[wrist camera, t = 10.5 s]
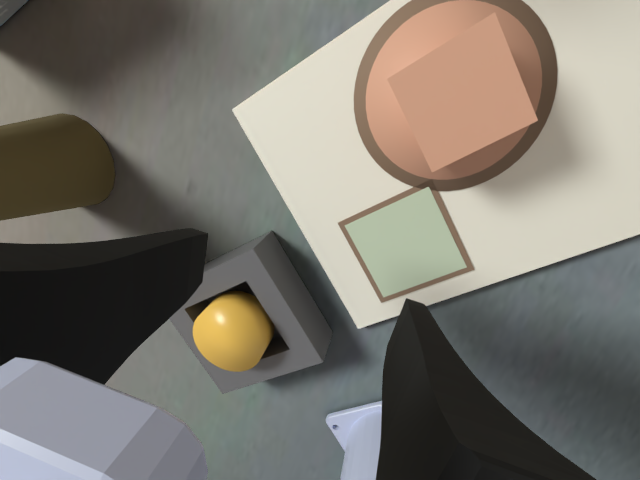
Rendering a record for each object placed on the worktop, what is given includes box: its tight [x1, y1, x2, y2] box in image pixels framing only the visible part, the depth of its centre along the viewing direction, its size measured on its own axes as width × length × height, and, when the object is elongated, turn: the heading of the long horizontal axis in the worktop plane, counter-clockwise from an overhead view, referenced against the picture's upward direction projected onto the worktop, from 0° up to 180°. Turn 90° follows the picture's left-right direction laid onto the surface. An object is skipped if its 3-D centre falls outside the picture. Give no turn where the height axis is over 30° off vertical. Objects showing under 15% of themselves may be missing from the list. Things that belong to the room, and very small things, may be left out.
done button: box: [193, 291, 275, 372], centre depth 22 cm, size 4×4×2 cm
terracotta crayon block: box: [387, 12, 538, 172], centre depth 15 cm, size 4×4×4 cm
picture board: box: [232, 0, 640, 329], centre depth 18 cm, size 15×20×1 cm
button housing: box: [169, 231, 333, 394], centre depth 23 cm, size 8×8×3 cm
